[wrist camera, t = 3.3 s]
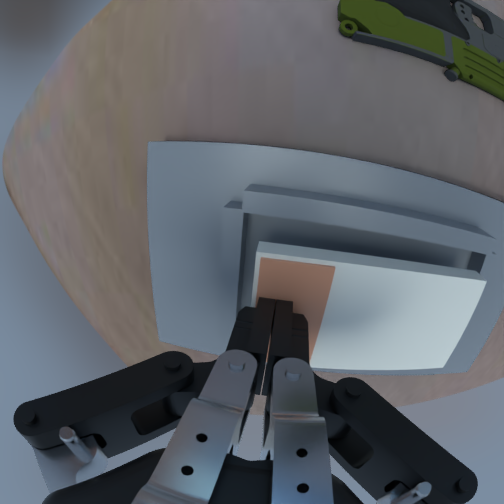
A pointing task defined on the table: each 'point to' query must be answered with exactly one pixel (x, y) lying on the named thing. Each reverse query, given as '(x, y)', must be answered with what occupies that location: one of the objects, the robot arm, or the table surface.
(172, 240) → the panel
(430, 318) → the rocker
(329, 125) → the table surface
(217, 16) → the table surface
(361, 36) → the gun
